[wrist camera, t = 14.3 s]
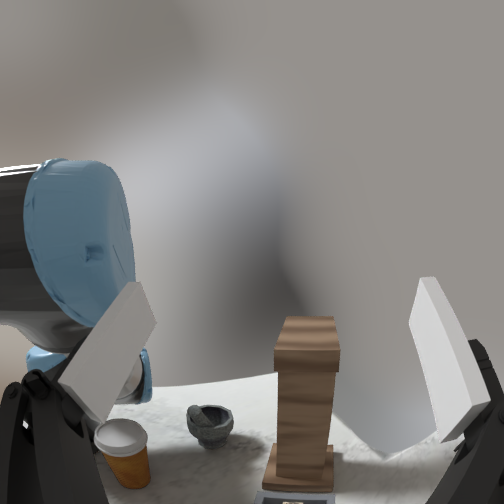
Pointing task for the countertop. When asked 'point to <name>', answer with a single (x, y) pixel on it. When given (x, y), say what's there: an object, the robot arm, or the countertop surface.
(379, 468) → the countertop surface
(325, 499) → the tray
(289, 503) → the bar
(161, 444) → the countertop surface
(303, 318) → the post stand
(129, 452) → the disposable coffee cup
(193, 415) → the mortar and pestle
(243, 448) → the countertop surface
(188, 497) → the countertop surface
